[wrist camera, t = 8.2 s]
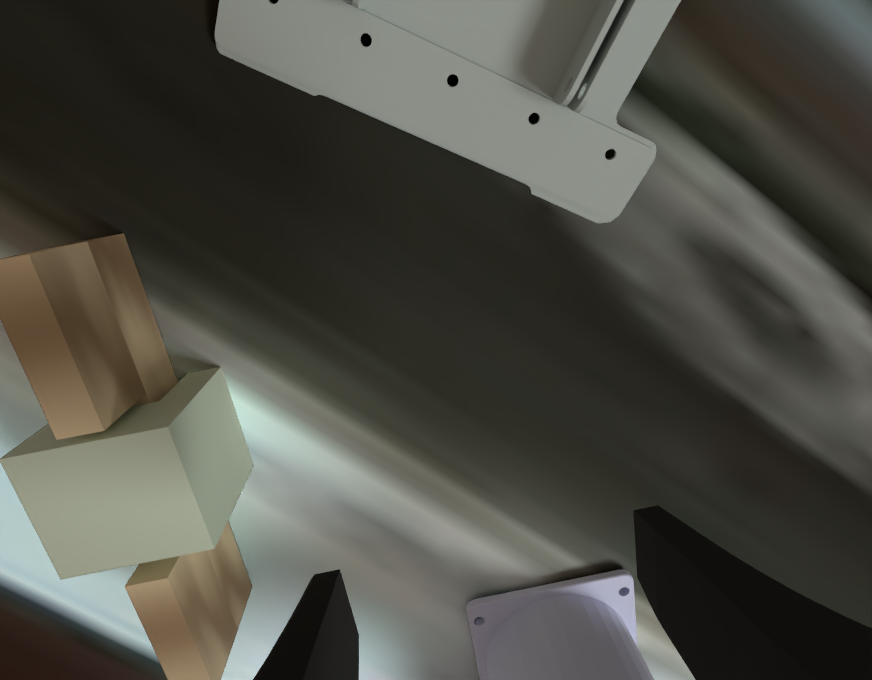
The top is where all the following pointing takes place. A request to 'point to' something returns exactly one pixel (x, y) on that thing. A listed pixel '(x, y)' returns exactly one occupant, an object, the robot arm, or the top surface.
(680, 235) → the top surface
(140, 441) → the slotted block
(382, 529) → the top surface
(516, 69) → the metal bracket
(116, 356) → the notched rail
